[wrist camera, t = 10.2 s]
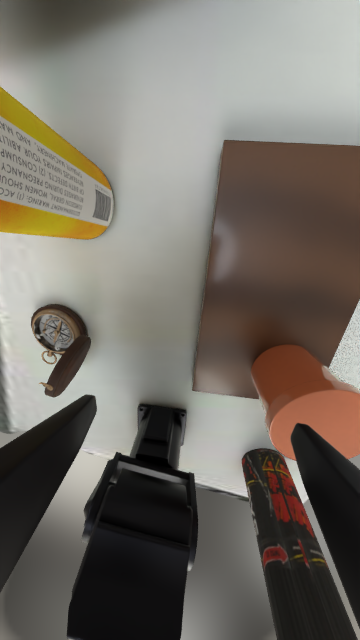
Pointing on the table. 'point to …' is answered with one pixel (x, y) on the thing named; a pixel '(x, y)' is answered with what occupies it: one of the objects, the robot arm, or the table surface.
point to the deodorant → (292, 555)
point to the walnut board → (278, 258)
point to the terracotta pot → (305, 399)
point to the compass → (60, 344)
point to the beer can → (47, 180)
